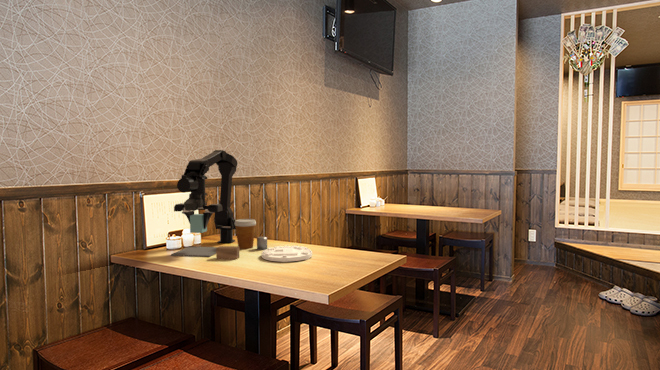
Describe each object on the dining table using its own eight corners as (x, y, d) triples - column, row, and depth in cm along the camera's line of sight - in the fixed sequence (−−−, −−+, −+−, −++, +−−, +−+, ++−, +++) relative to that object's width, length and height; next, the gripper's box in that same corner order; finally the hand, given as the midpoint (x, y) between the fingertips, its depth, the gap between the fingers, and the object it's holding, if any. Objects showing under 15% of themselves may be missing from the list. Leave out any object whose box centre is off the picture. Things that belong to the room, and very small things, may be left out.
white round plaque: (252, 261, 163) (252, 254, 163) (274, 251, 182) (274, 244, 181) (301, 265, 157) (301, 257, 157) (318, 253, 176) (318, 246, 176)
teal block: (195, 230, 180) (195, 214, 179) (207, 230, 179) (206, 214, 178) (190, 232, 175) (189, 215, 174) (201, 232, 174) (201, 215, 174)
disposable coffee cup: (232, 246, 189) (232, 219, 189) (253, 244, 193) (253, 218, 193) (237, 250, 181) (236, 222, 180) (259, 248, 185) (259, 221, 184)
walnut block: (219, 257, 168) (219, 246, 168) (239, 257, 168) (239, 246, 167) (216, 259, 165) (216, 248, 164) (237, 259, 164) (236, 248, 164)
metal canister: (258, 247, 186) (258, 236, 186) (268, 248, 186) (268, 236, 186) (255, 249, 182) (255, 238, 182) (265, 250, 181) (265, 238, 181)
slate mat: (189, 247, 186) (189, 246, 186) (224, 248, 184) (224, 247, 184) (171, 255, 170) (171, 254, 170) (209, 257, 168) (209, 255, 168)
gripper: (166, 192, 169) (167, 231, 170) (211, 192, 167) (212, 232, 168) (180, 190, 180) (180, 226, 181) (222, 190, 178) (223, 227, 179)
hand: (198, 228), depth 177 cm, fingers closed on teal block, 5 cm apart
